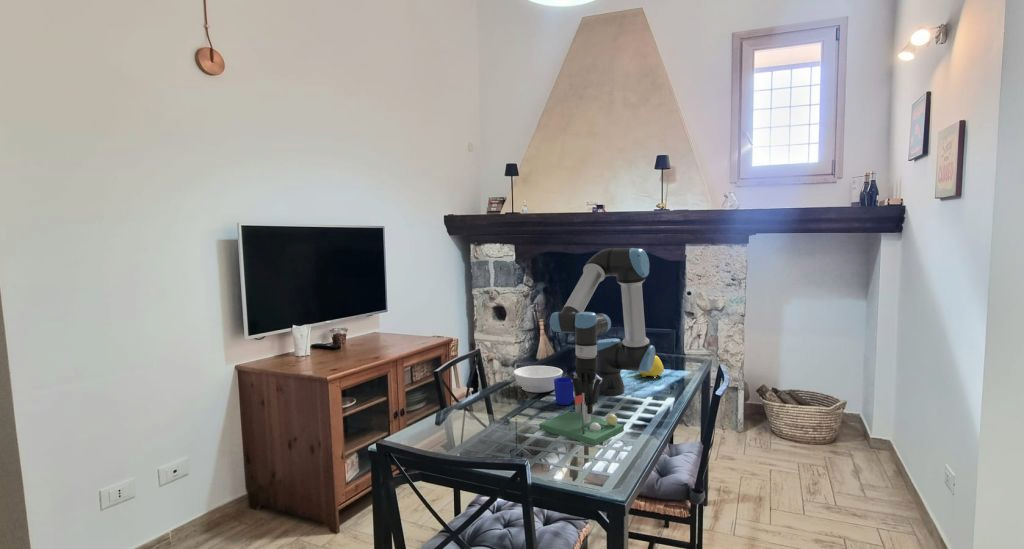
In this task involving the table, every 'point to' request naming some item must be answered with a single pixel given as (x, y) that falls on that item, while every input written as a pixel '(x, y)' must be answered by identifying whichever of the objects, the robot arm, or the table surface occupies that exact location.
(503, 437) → the table surface
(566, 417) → the putting mat
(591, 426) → the white ball
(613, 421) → the yellow ball
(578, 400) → the flag pin
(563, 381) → the mug
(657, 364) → the teapot
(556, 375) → the bowl
